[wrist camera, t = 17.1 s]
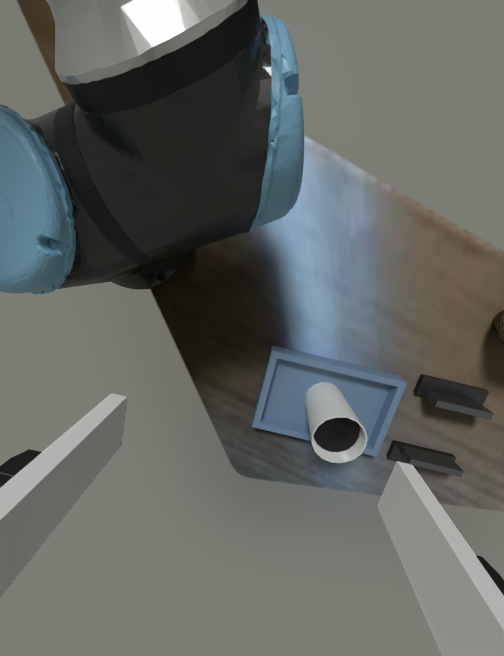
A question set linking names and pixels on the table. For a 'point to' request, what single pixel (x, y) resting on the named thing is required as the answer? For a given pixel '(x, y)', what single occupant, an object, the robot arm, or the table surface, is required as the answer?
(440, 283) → the table surface
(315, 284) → the table surface
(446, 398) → the bracket
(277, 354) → the tray
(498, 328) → the cup
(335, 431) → the white tumbler
